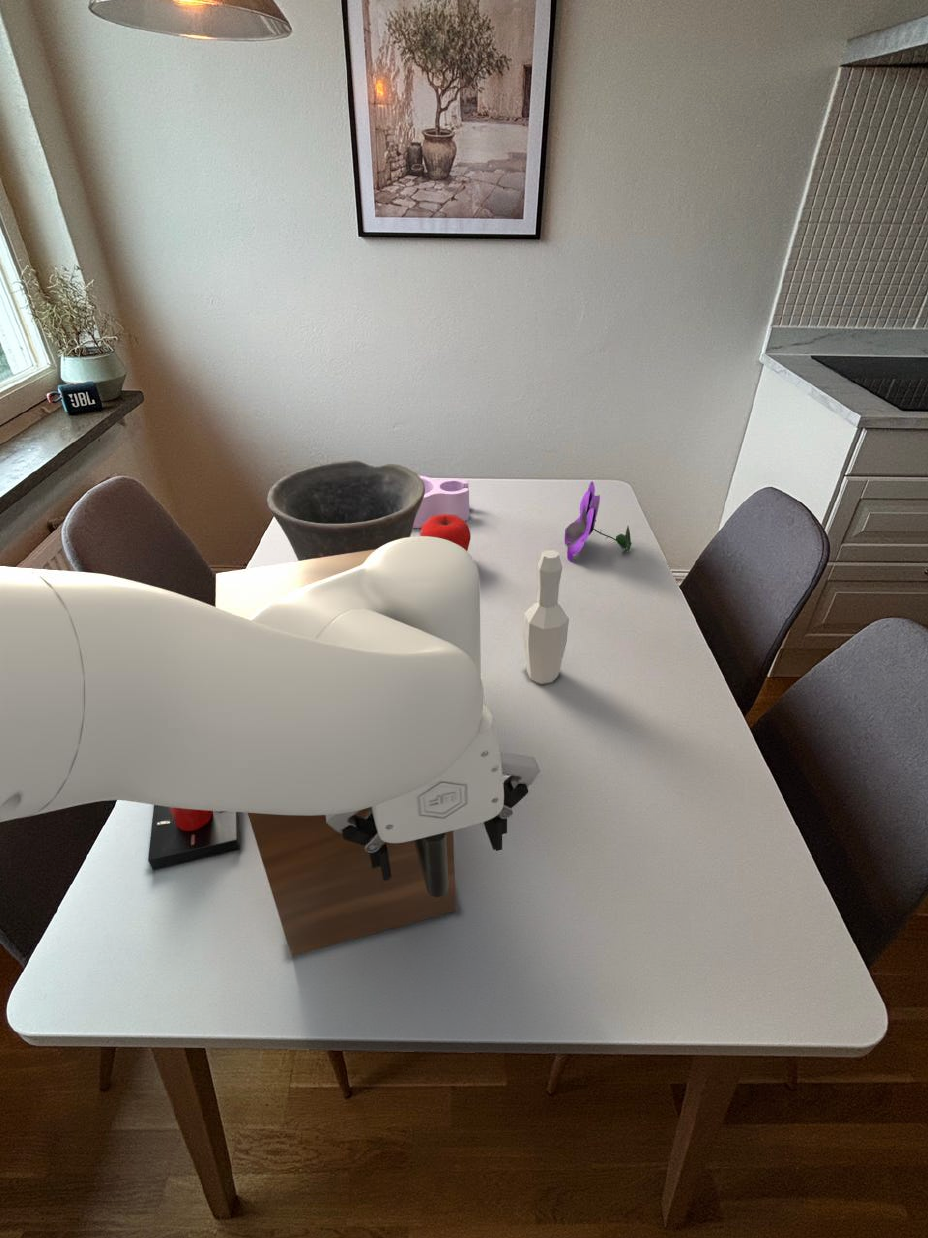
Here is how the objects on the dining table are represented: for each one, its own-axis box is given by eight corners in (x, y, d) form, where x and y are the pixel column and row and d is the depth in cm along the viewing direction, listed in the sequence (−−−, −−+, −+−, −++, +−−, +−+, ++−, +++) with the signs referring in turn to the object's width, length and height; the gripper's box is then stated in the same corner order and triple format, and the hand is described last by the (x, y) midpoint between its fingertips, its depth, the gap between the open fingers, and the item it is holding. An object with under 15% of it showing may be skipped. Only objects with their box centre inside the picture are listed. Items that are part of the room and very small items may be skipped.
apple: (412, 564, 137) (409, 515, 130) (449, 548, 142) (448, 500, 135) (443, 584, 131) (441, 533, 124) (480, 566, 135) (480, 517, 129)
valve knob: (212, 826, 83) (201, 794, 80) (174, 835, 82) (161, 803, 79) (213, 798, 86) (202, 767, 83) (176, 806, 85) (163, 775, 82)
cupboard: (453, 901, 76) (442, 648, 56) (290, 946, 73) (213, 692, 52) (417, 782, 91) (398, 545, 70) (280, 814, 87) (215, 573, 66)
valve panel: (240, 850, 82) (236, 838, 81) (152, 870, 80) (147, 859, 79) (238, 788, 90) (235, 777, 89) (159, 805, 88) (154, 794, 87)
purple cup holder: (468, 501, 160) (467, 474, 156) (469, 526, 149) (469, 497, 145) (382, 503, 159) (380, 476, 155) (378, 529, 149) (375, 500, 145)
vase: (272, 665, 111) (233, 496, 94) (362, 604, 125) (343, 447, 108) (372, 719, 101) (349, 540, 83) (458, 645, 115) (454, 479, 97)
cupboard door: (473, 967, 70) (469, 713, 50) (296, 1019, 66) (212, 767, 46) (454, 903, 76) (443, 652, 55) (290, 947, 72) (213, 695, 52)
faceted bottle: (514, 670, 109) (518, 550, 96) (545, 656, 112) (554, 538, 99) (539, 692, 105) (546, 570, 92) (570, 677, 108) (582, 556, 95)
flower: (606, 555, 148) (553, 529, 145) (648, 500, 140) (592, 471, 137) (616, 592, 136) (558, 564, 133) (662, 534, 128) (601, 503, 125)
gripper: (311, 772, 44) (345, 918, 54) (562, 715, 47) (549, 862, 57) (301, 696, 50) (333, 841, 60) (524, 650, 53) (519, 794, 63)
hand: (439, 851), depth 59 cm, fingers open, 9 cm apart
